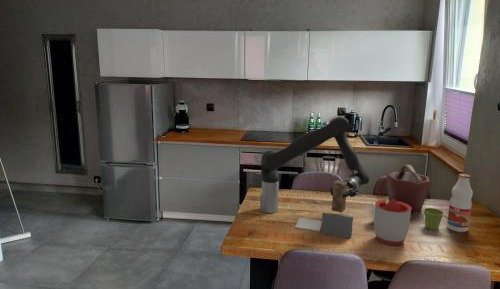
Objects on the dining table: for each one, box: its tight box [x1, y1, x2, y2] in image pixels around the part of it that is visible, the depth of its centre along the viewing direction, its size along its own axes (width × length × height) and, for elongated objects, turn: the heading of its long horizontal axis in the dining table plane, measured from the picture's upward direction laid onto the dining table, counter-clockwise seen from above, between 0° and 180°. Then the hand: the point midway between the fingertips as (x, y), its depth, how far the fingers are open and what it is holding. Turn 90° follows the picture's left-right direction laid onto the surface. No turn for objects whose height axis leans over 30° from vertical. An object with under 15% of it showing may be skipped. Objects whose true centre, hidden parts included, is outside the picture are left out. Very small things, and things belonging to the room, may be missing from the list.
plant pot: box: [423, 207, 445, 231], centre depth 185 cm, size 9×9×9 cm
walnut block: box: [331, 180, 347, 213], centre depth 178 cm, size 5×5×14 cm
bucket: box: [386, 164, 431, 214], centre depth 210 cm, size 24×22×25 cm
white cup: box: [372, 201, 388, 224], centre depth 190 cm, size 8×8×10 cm
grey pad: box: [294, 217, 322, 233], centre depth 186 cm, size 12×12×1 cm
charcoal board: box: [320, 212, 354, 239], centre depth 174 cm, size 14×2×10 cm, turn 72°
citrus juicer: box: [373, 199, 412, 246], centre depth 170 cm, size 16×17×20 cm
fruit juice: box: [446, 173, 474, 233], centre depth 182 cm, size 9×9×28 cm
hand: (337, 194), depth 176 cm, fingers closed on walnut block, 5 cm apart
